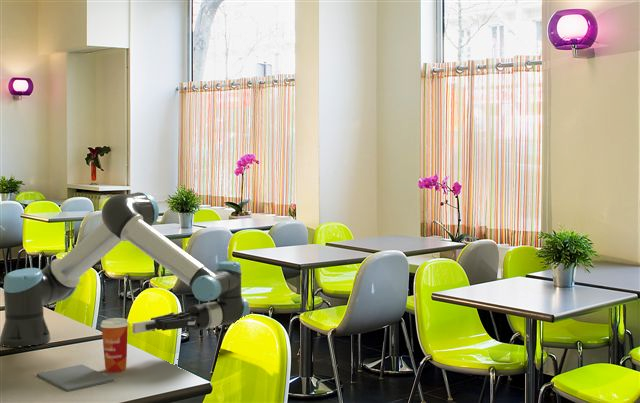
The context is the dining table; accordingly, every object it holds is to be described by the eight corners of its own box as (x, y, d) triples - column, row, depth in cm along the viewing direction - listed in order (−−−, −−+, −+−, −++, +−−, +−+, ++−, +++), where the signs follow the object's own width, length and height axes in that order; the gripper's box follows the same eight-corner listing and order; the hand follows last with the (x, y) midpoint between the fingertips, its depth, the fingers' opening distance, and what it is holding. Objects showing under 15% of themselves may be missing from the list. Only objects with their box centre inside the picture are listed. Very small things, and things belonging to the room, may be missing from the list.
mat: (37, 375, 212) (36, 373, 212) (82, 366, 221) (81, 364, 221) (67, 391, 197) (67, 389, 197) (114, 381, 206) (114, 378, 206)
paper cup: (95, 371, 215) (94, 321, 214) (115, 364, 222) (113, 316, 221) (117, 374, 212) (115, 324, 211) (136, 367, 218) (134, 318, 218)
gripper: (216, 331, 231) (145, 345, 215) (192, 325, 240) (123, 337, 225) (215, 306, 230) (144, 318, 215) (191, 301, 240) (122, 312, 224)
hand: (133, 328), depth 220 cm, fingers closed
